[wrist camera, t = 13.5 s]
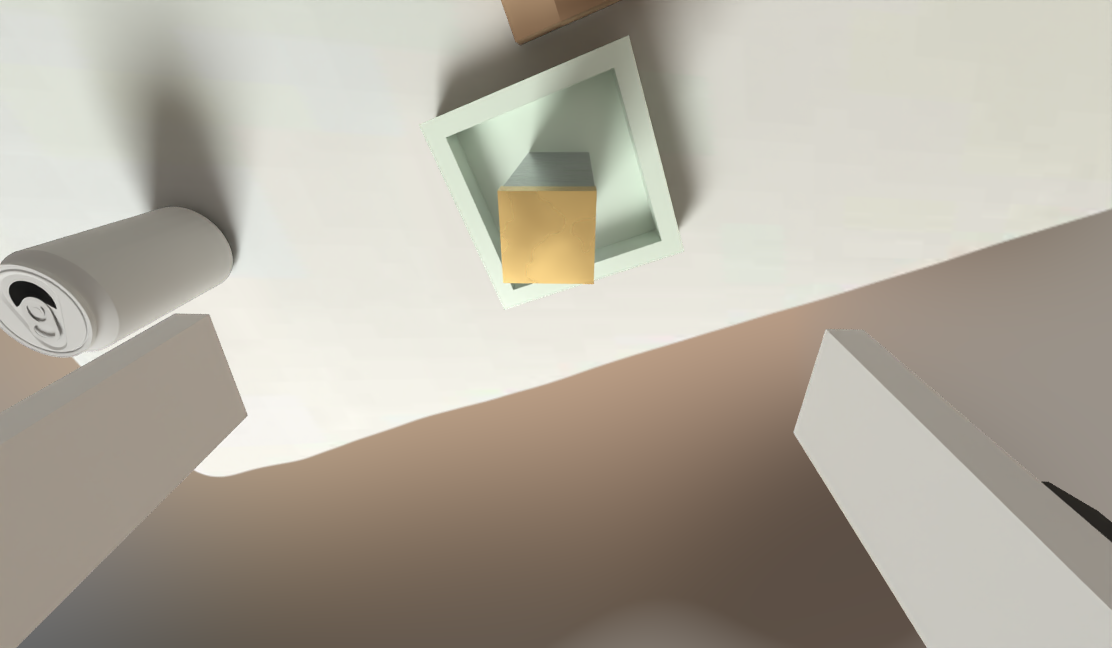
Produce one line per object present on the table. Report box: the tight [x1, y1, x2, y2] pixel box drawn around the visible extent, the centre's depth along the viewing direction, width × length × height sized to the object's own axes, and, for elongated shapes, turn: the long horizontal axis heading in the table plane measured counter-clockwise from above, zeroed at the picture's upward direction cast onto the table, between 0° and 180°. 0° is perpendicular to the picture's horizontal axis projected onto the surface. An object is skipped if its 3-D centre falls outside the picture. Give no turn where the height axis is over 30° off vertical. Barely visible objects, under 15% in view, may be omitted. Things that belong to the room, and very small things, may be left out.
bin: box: [419, 35, 684, 310], centre depth 31 cm, size 13×13×4 cm
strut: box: [497, 152, 597, 284], centre depth 26 cm, size 4×4×13 cm
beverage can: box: [0, 207, 233, 357], centre depth 30 cm, size 6×6×12 cm
